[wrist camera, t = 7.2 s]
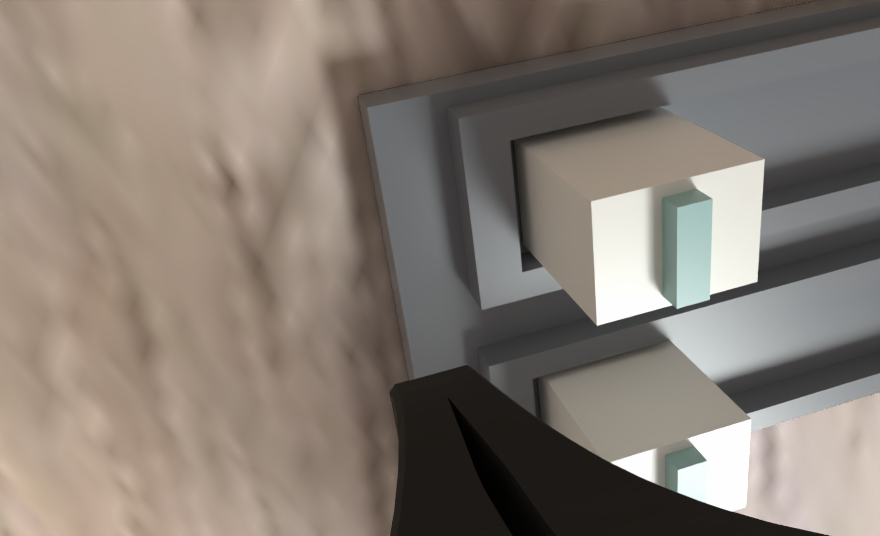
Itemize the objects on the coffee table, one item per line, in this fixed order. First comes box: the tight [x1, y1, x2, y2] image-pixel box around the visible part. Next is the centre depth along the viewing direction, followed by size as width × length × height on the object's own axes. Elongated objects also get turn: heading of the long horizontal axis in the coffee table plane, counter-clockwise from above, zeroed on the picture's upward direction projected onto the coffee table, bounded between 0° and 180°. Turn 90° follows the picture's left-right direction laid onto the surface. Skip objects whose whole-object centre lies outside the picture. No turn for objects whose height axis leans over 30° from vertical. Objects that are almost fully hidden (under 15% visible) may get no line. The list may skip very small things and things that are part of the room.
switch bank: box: [358, 0, 880, 432], centre depth 24 cm, size 13×20×2 cm, turn 97°
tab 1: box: [514, 107, 765, 326], centre depth 19 cm, size 3×4×5 cm
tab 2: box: [538, 340, 751, 511], centre depth 23 cm, size 3×4×5 cm
